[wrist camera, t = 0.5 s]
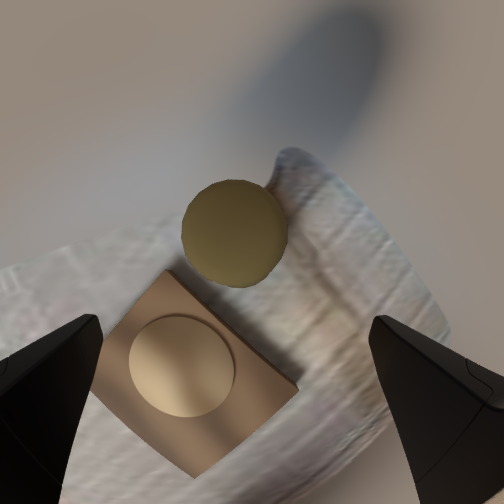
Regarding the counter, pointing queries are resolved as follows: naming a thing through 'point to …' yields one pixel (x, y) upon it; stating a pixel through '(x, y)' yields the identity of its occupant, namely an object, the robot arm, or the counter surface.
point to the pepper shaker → (234, 233)
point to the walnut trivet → (186, 378)
